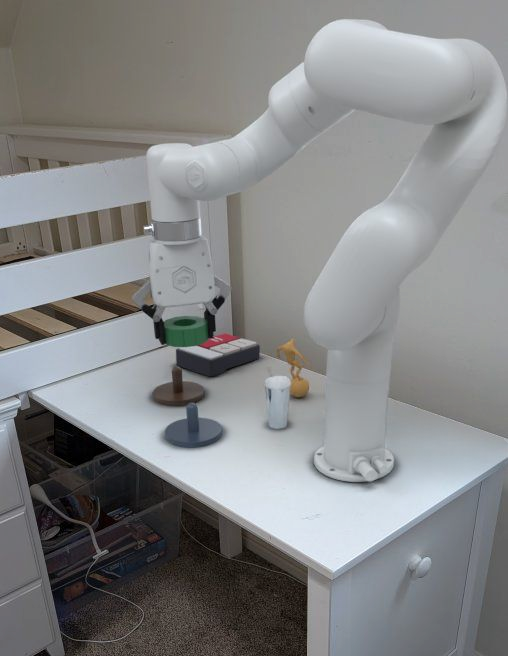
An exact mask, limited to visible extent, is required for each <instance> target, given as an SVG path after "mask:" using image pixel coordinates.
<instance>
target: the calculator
mask: <svg viewBox="0 0 508 656" xmlns="http://www.w3.org/2000/svg"><path fill="white" fill-rule="evenodd" d="M260 352H261V346H260V344H258V343H257V342H256V341H253V340H250V339H245V338H240V337H239V336H235V335H232V334H229V333H221V334H218V335H213V339H210V338H209V339H208V340H207V341H206V342H205V343H203V344H200V345H197V346H192V347H177V348H176V349H175V362H176V366H178V367H180V368H184V369H186V370H188V371H192V372H194V373H197V374H201V375H204V376H206V377H210V378H212V377H215V376H219V375H222V374H224V373H225V372H226V371H227V370H228V369H231V368H234V367H237V366H240V365H243V364H244V365H245V364H246V363H249V362H252V361H255V360H259V359H260V357H261V356H260Z"/></svg>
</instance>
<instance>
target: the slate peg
mask: <svg viewBox="0 0 508 656" xmlns="http://www.w3.org/2000/svg"><path fill="white" fill-rule="evenodd" d="M185 411H186V418H181V419H178V420H175V421H173V422H171V423H169V424H168V425H166V427H165V430H164V438H165V440H166V441H167V442H168V443H169V444H171V445H174V446H176V447H180V448H200V447H206V446H209V445H212V444H214V443H216V442H217V441H220V439H221V438H222V436H223V427H222V425H221V423H220V422H219V421H216V420H214V419H211V418H207V417H199V407H198V404H197V403H196V402H195V403H189V404H188V405H186V407H185Z"/></svg>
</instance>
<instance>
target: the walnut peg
mask: <svg viewBox="0 0 508 656" xmlns="http://www.w3.org/2000/svg"><path fill="white" fill-rule="evenodd" d="M204 396H205V388H204V386H203V385H202V384H200V383H197V382H193V381H186V380H184V379H183V370H182V367H180V366H178V365H176V366H174V367H172V368H171V381H170V382H166V383H161V384H160V385H158V386H156V387H155V388H153V390H152V399H153V401H155V402H156V403H157V404H160V405H163V406H168V407H169V406H171V407H180V406H187V405H188V404H189V403H195V404H196V403H197V402H200V401H201V400H202V399H203V398H204Z"/></svg>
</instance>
